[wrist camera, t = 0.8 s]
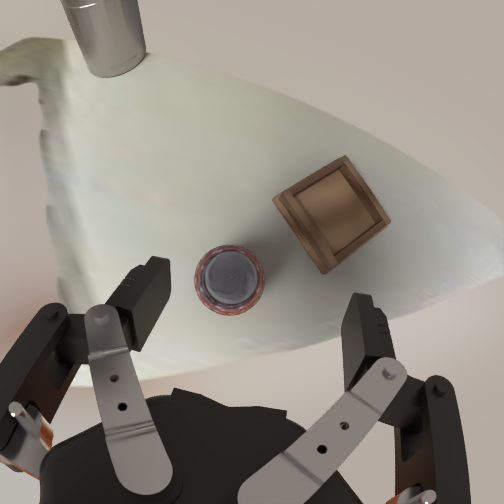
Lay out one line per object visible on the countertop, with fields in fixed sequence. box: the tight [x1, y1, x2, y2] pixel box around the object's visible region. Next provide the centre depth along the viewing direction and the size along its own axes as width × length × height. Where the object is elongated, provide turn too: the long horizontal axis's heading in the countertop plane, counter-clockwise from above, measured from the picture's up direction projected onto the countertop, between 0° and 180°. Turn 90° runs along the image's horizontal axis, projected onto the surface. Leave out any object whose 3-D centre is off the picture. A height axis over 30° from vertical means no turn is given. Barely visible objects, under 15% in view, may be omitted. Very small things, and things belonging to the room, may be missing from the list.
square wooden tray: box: [272, 155, 391, 275], centre depth 36 cm, size 10×10×3 cm
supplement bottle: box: [194, 245, 265, 316], centre depth 29 cm, size 6×6×11 cm
